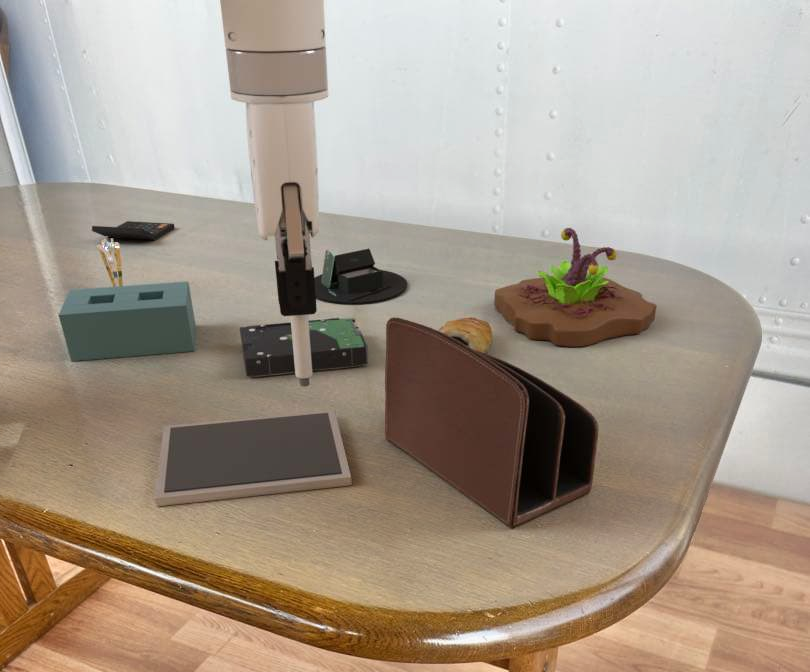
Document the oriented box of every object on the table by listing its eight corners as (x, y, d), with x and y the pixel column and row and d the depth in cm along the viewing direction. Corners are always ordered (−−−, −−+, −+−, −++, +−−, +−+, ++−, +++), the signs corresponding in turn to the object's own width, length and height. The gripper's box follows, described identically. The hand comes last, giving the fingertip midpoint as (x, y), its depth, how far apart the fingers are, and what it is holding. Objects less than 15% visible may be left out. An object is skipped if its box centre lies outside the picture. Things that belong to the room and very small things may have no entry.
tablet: (156, 507, 74) (154, 496, 73) (165, 434, 85) (163, 424, 85) (352, 485, 77) (351, 475, 76) (335, 417, 88) (334, 408, 87)
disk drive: (247, 381, 96) (370, 366, 98) (243, 359, 94) (369, 344, 96) (241, 347, 104) (355, 334, 106) (238, 326, 102) (353, 313, 105)
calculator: (174, 228, 148) (171, 211, 146) (144, 247, 139) (140, 229, 137) (128, 225, 150) (124, 208, 148) (95, 244, 141) (90, 226, 139)
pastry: (453, 330, 107) (454, 302, 105) (502, 337, 105) (504, 308, 103) (429, 357, 100) (429, 328, 98) (481, 366, 98) (483, 335, 96)
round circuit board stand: (373, 264, 130) (372, 229, 126) (426, 290, 120) (426, 252, 116) (289, 282, 123) (285, 245, 120) (338, 312, 113) (335, 272, 110)
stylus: (297, 389, 77) (284, 249, 69) (295, 381, 78) (283, 244, 70) (313, 387, 77) (303, 248, 69) (312, 380, 78) (301, 243, 70)
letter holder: (510, 531, 70) (522, 381, 62) (383, 440, 83) (379, 307, 75) (592, 493, 75) (614, 350, 67) (459, 413, 88) (463, 285, 80)
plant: (588, 283, 121) (597, 204, 115) (676, 327, 107) (692, 240, 100) (471, 304, 115) (474, 222, 108) (548, 354, 100) (557, 263, 94)
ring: (133, 301, 118) (121, 244, 113) (110, 304, 117) (97, 247, 112) (126, 286, 123) (114, 232, 118) (104, 289, 122) (91, 234, 117)
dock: (194, 351, 103) (186, 305, 99) (71, 361, 100) (58, 314, 97) (195, 325, 110) (188, 281, 106) (80, 334, 108) (69, 289, 104)
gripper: (227, 64, 68) (252, 283, 79) (229, 91, 55) (259, 346, 66) (317, 62, 69) (329, 278, 80) (339, 88, 56) (350, 340, 67)
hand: (297, 308), depth 73 cm, fingers closed on stylus, 1 cm apart
